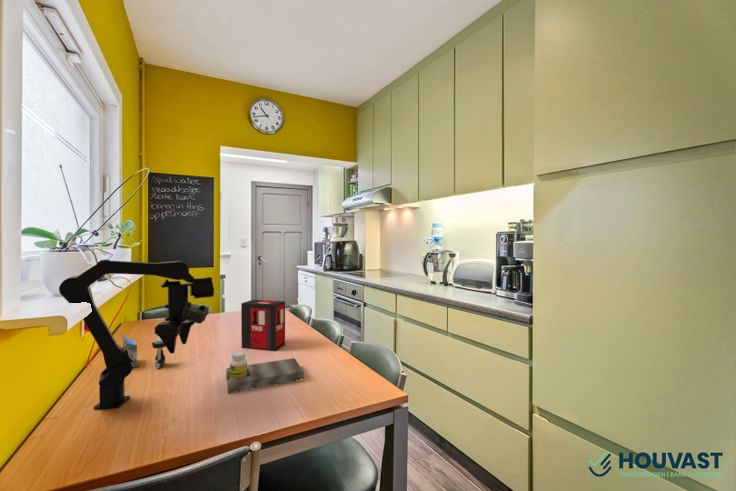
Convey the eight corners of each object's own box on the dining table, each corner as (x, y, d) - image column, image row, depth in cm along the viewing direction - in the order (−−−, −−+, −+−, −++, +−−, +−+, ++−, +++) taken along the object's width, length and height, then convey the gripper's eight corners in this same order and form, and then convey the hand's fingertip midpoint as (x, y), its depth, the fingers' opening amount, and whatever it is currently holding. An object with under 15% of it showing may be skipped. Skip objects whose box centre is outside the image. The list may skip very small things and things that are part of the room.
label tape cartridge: (137, 367, 126) (137, 334, 126) (124, 369, 123) (124, 336, 123) (134, 360, 133) (134, 329, 132) (122, 363, 130) (121, 331, 130)
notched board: (227, 393, 105) (227, 383, 105) (226, 376, 117) (226, 368, 117) (303, 379, 115) (303, 371, 115) (294, 365, 127) (294, 358, 127)
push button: (165, 368, 124) (165, 341, 124) (149, 370, 123) (148, 343, 122) (169, 362, 131) (169, 336, 130) (153, 364, 129) (153, 338, 129)
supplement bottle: (226, 385, 110) (226, 356, 110) (235, 378, 116) (235, 350, 115) (242, 386, 109) (242, 356, 109) (250, 379, 115) (250, 351, 115)
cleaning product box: (241, 348, 148) (241, 303, 148) (253, 342, 157) (253, 299, 156) (275, 351, 144) (275, 305, 144) (285, 345, 153) (285, 301, 152)
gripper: (193, 305, 99) (194, 357, 100) (213, 294, 118) (213, 338, 118) (153, 306, 98) (153, 359, 98) (179, 295, 116) (180, 340, 116)
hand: (178, 348), depth 108 cm, fingers open, 9 cm apart
